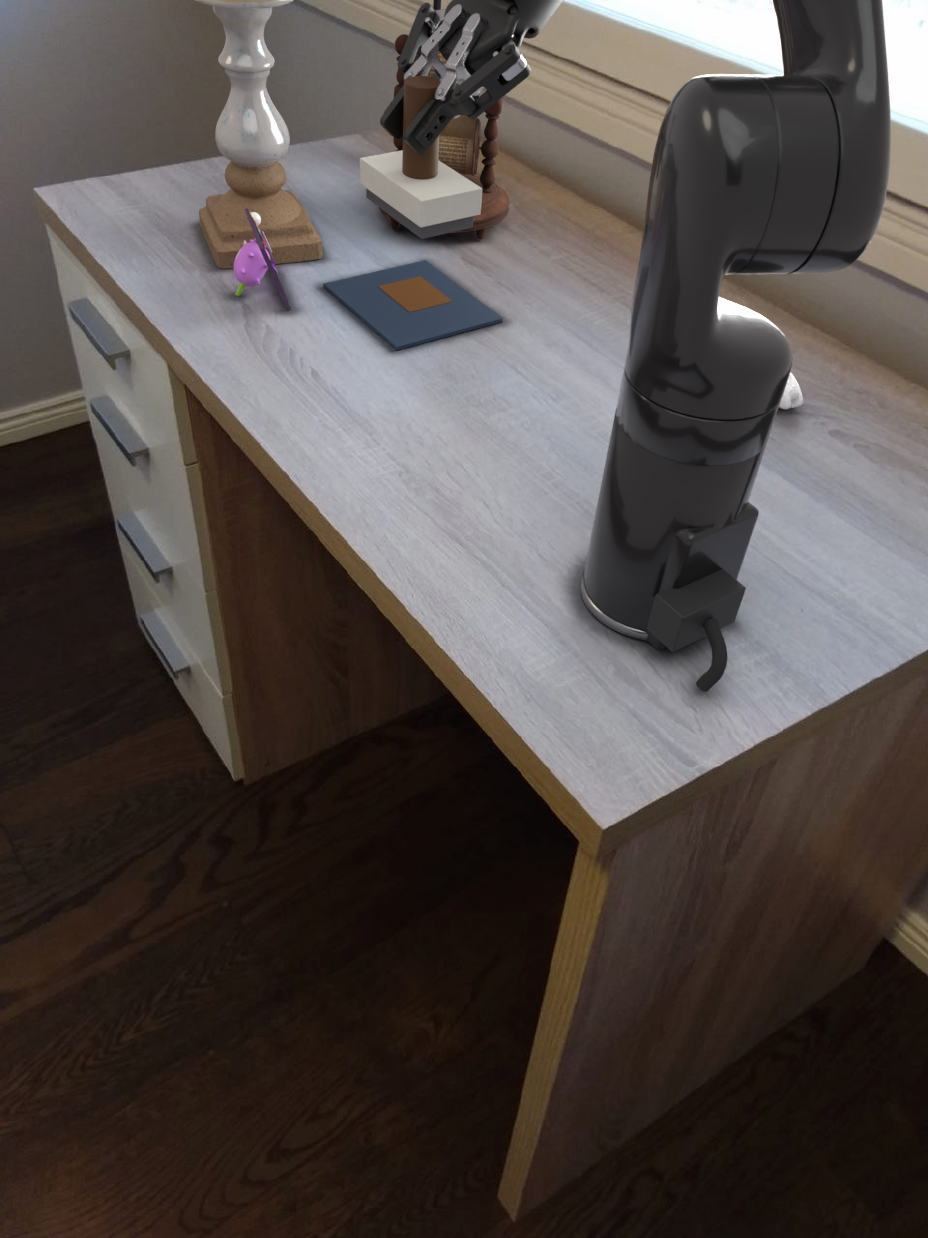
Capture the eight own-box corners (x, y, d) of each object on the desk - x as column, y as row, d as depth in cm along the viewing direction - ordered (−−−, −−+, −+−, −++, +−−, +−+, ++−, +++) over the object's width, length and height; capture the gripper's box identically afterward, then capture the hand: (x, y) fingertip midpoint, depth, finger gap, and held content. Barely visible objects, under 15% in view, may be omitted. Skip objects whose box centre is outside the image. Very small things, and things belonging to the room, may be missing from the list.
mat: (502, 321, 99) (503, 317, 98) (396, 350, 93) (396, 346, 93) (425, 263, 107) (425, 259, 106) (323, 287, 101) (323, 282, 101)
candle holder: (298, 216, 113) (286, -35, 96) (324, 259, 106) (316, -4, 89) (198, 224, 110) (168, -34, 93) (218, 269, 102) (189, -2, 86)
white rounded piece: (776, 419, 89) (785, 391, 87) (732, 372, 94) (740, 345, 92) (807, 415, 90) (816, 387, 88) (762, 369, 95) (770, 341, 93)
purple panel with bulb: (270, 243, 92) (254, 203, 98) (217, 265, 92) (205, 224, 98) (298, 306, 97) (281, 264, 103) (248, 327, 97) (234, 285, 103)
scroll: (511, 198, 120) (529, 6, 106) (502, 252, 110) (521, 46, 96) (387, 185, 121) (390, -8, 107) (366, 237, 110) (366, 30, 96)
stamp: (479, 228, 87) (489, 96, 79) (420, 241, 84) (424, 106, 77) (417, 185, 92) (421, 58, 85) (359, 197, 90) (358, 67, 82)
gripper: (460, -105, 81) (328, 81, 84) (569, -65, 73) (419, 139, 76) (507, -32, 87) (383, 139, 90) (613, 12, 79) (472, 198, 82)
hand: (400, 138), depth 83 cm, fingers closed on stamp, 3 cm apart
